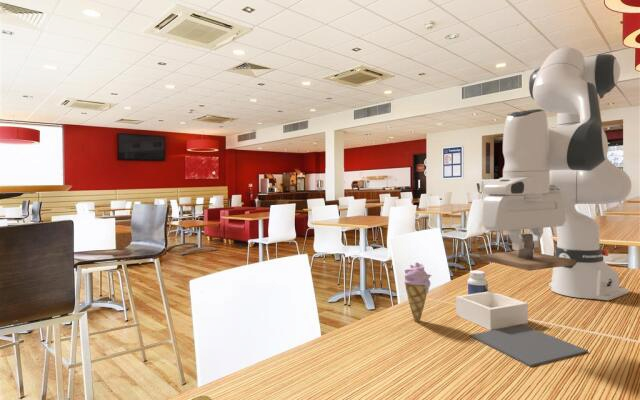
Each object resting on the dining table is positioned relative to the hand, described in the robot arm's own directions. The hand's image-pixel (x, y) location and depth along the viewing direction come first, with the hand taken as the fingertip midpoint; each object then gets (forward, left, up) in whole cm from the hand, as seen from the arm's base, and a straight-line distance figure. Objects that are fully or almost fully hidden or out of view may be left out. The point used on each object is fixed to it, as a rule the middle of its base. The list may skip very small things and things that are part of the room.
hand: (525, 249), depth 82 cm
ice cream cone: (+13, -21, -21) cm, 32 cm away
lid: (0, 0, -3) cm, 3 cm away
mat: (0, 0, -21) cm, 21 cm away
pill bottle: (-10, -25, -21) cm, 34 cm away
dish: (-5, -15, -21) cm, 26 cm away
